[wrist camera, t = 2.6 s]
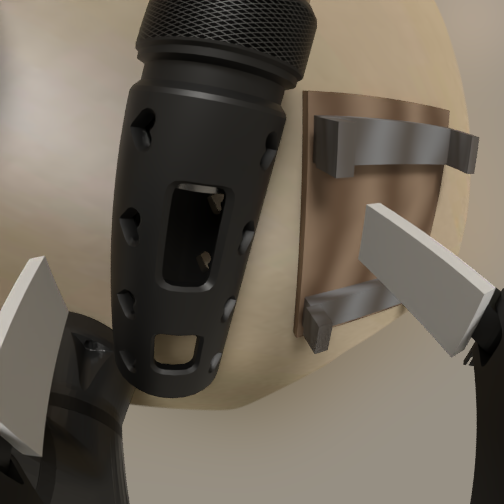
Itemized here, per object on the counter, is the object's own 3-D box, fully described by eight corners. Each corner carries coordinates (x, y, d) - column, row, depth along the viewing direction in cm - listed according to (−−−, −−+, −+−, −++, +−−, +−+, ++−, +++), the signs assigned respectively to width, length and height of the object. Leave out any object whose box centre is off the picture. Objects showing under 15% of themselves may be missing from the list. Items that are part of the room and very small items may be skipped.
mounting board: (293, 331, 34) (312, 365, 30) (302, 90, 21) (339, 92, 17) (406, 296, 39) (429, 319, 34) (443, 109, 25) (480, 118, 21)
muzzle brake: (115, 311, 26) (109, 400, 18) (162, -7, 14) (167, -73, 6) (209, 315, 30) (233, 399, 21) (282, 21, 18) (359, -12, 9)
